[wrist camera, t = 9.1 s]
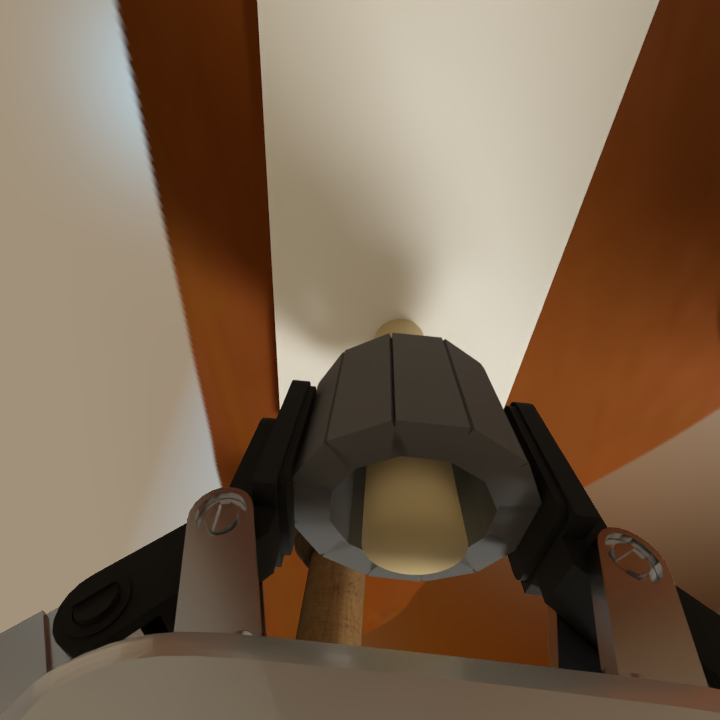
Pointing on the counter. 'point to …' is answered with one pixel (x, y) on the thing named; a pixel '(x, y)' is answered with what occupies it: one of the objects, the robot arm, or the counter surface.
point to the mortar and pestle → (329, 599)
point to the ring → (411, 448)
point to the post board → (429, 194)
